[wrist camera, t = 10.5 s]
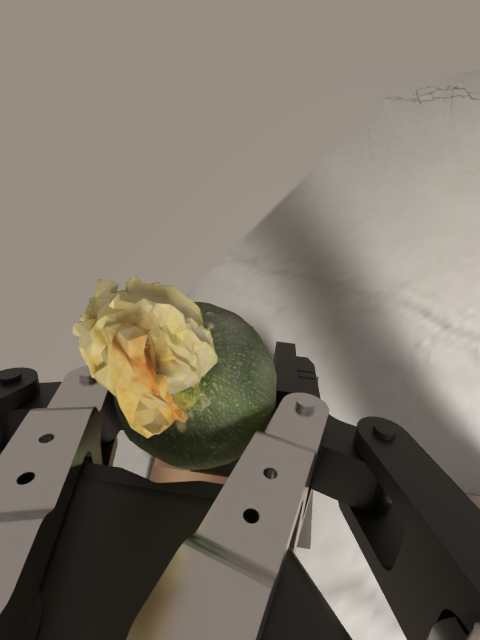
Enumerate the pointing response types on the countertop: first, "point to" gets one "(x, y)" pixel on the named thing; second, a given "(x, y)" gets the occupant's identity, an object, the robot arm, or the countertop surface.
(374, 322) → the countertop surface
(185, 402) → the vegetable
